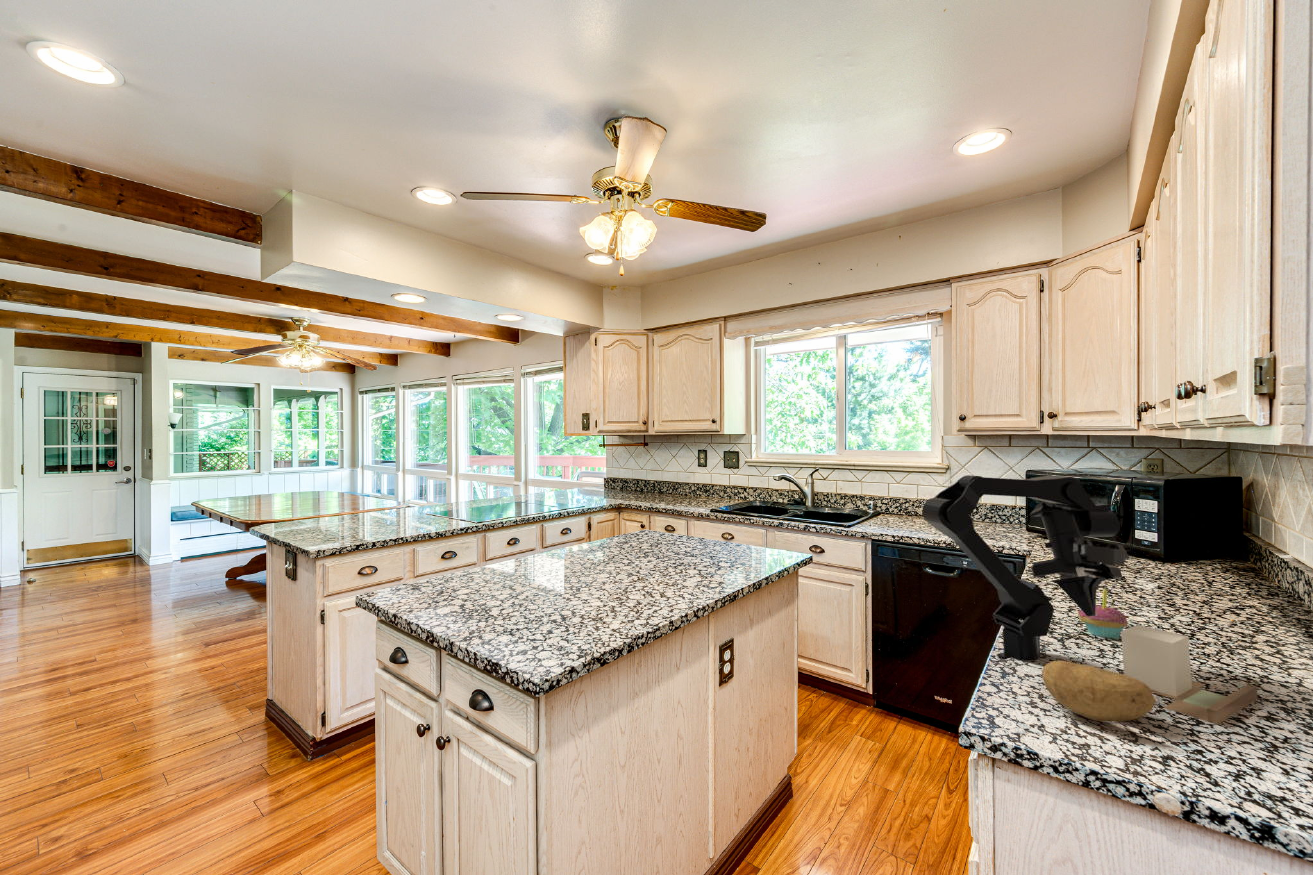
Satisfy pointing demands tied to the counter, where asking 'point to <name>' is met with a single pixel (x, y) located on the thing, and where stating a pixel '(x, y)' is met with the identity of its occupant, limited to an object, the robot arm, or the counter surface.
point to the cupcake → (1104, 620)
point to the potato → (1097, 692)
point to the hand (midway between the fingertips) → (1091, 616)
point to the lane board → (1211, 702)
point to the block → (1157, 659)
